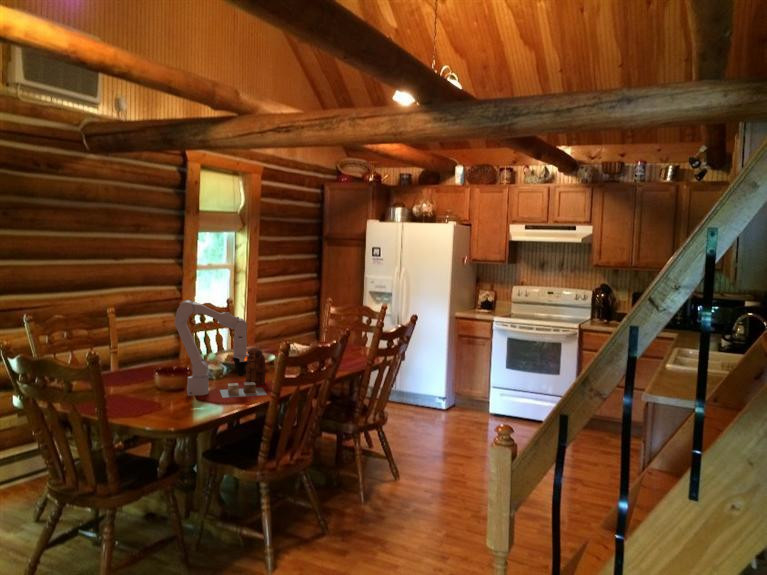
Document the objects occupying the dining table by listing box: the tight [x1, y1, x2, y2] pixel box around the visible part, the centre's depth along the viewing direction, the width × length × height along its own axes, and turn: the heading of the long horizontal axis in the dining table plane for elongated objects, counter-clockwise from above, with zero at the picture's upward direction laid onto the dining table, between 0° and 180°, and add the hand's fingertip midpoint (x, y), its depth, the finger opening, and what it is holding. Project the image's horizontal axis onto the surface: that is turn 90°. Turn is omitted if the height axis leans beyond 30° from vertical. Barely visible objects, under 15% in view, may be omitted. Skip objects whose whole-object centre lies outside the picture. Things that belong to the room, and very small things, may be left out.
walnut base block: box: [242, 381, 257, 394], centre depth 291 cm, size 5×5×4 cm
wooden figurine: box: [245, 347, 266, 386], centre depth 309 cm, size 12×6×18 cm, turn 63°
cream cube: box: [227, 382, 240, 394], centre depth 288 cm, size 4×4×4 cm
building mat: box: [219, 387, 268, 399], centre depth 290 cm, size 20×14×1 cm
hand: (239, 374), depth 289 cm, fingers open, 7 cm apart
